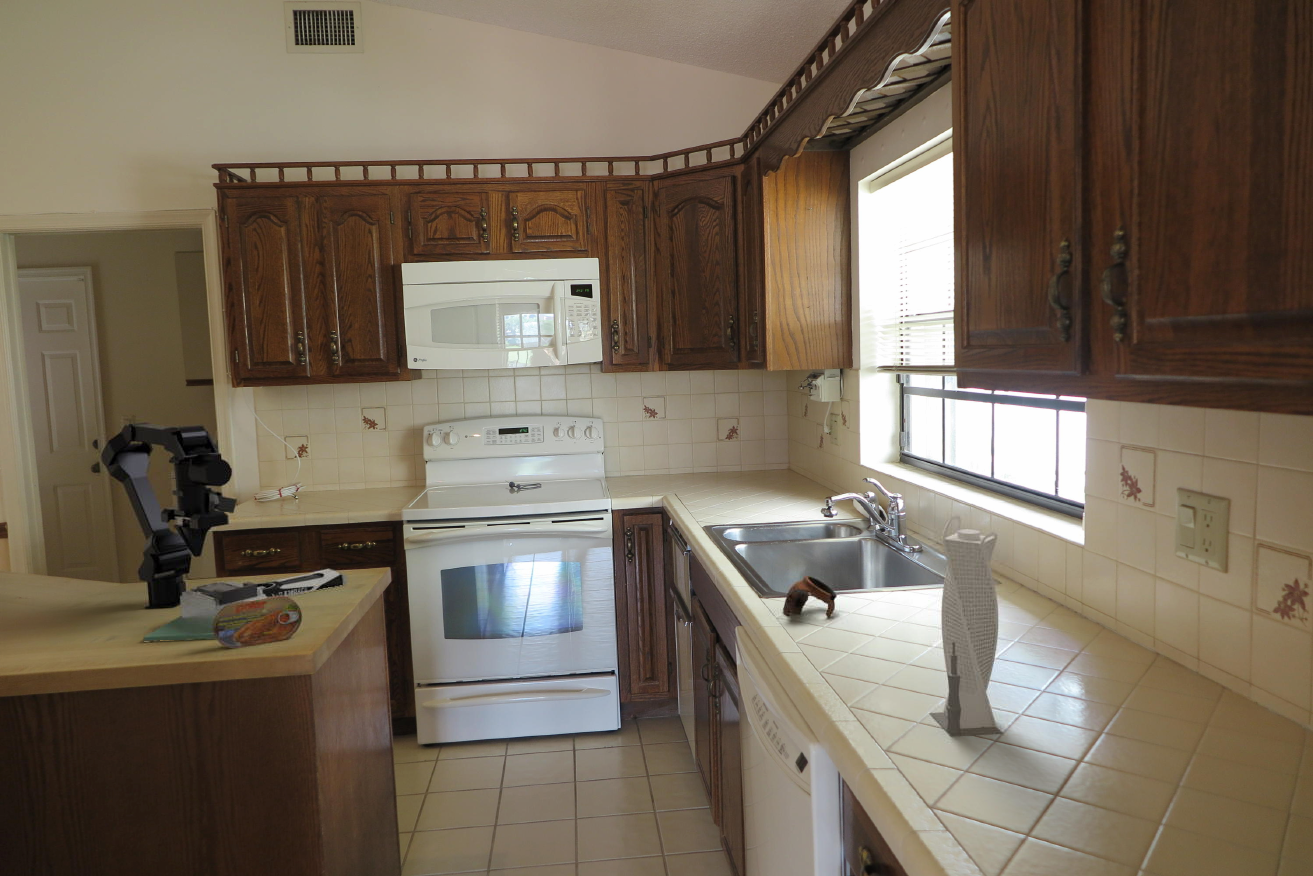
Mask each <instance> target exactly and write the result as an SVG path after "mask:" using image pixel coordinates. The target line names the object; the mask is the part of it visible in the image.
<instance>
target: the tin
mask: <svg viewBox="0 0 1313 876" xmlns="http://www.w3.org/2000/svg"><path fill="white" fill-rule="evenodd" d="M302 619H303V614H302V610H301V607H300V606H299V604H298V603H297V602H296V601H295V600H294V599H292V598H290V597H286V596H272V597H266V598H260V599H253V600H247V601H240V602H234V603H231V604H228V605H227V606H225V607H223V608H222V609H221V610H220V611H219V612H218V614H217V616H216V617H215V620H214V622H213V633H214V636H215V638H216V639H215V640H216V641H217V642H218V643H219V644H221V645H222V646H223V647H226V648H230V649H239V648H246V646H247V647H251V646H257V645H262V644H263V643H264V644H268V643H269V644H270V643H275V642H279V641H280V642H281V641H284V640H287V639H289V638H290V637H292V636H293V635H294V634H295V633H296V632H297V631H298V630H299V628H300V626H301V624H302Z"/></svg>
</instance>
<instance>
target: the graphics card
mask: <svg viewBox="0 0 1313 876" xmlns="http://www.w3.org/2000/svg"><path fill="white" fill-rule="evenodd" d="M347 575H348V574H343V573H341V572H338V571H336V570H334V569H331V568H326V569H321V570H316V571H312V572H311V573H306V574H301V575H297V576H291V577H287V578H285V577H284V578H283V579H282V578H281V579H277V580H272V581H271V580H270V581H267V582H259V583H256V584H257V588H258V589H262V593H263V594H265V595H266V597H272V596H290V595H294V594H299V595H301V594H300V593H304V592H309V591H313V590H319V589H323V588H328V587H333V588H336V587H335V586H337V587H341V586H340V585H342V586H343V585H344V586H347V585H348V579H347ZM346 584H347V585H346ZM328 589H329V588H328ZM323 590H324V589H323ZM319 591H320V590H319ZM309 593H310V592H309ZM304 594H305V593H304ZM290 597H291V596H290Z"/></svg>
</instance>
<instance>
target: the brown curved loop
mask: <svg viewBox="0 0 1313 876" xmlns="http://www.w3.org/2000/svg"><path fill="white" fill-rule="evenodd" d="M809 594H810V595H809ZM809 596H811V597H813V598H815V599H817V600H819V601H821V602H822V603H825V604H826V605H827V610H826V613H825V615H826V617H827V618H830V617H831V616H832V614H833V612H834V611H835V608H836V604H835V603H836V601H835V599H836V598H838V597H837V593H836V592H835V591H834V589H832V588H831V587H830V586H829V585H828V584H826V583H824V582H822V581H820V580H819V579H818V578H815V577H813V576H810V575H805V576H804V578H803V579H802V580H799V581H797V582H795V583H793V584H792V586H791V587H790V588H789V590H788V592H787V594H786V597H785V601H784V605H783V607H782V611H783V614H785V615H786V616H787V617H789V616H790V615H791V614H792V615H794V616H801V614H802V611H803V609H804V606H805V605H806V603H807V601H808V600H809ZM790 613H791V614H790Z"/></svg>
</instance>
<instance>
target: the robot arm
mask: <svg viewBox="0 0 1313 876" xmlns="http://www.w3.org/2000/svg"><path fill="white" fill-rule="evenodd" d="M153 445H157V446H162V447H163V449H164V450H165V451H166V452H169V453H171V454H173V456H172V457H170V458H169V459H168V464H173V468H174V481H175V489H172V495H173V496H176V502H177V506H172V507H166V508H164V509H163V510H162V508H161V505H160V502H159V501H158V499H157V496H156V493H155V491H154V489H153V486H152V485H151V484H152V483H151V482H150V479H149V477H148V470H149V467H150V465H151V462H150V456H151V454H152V452H153V450H154V448H153ZM100 457H101V462H102V464H103V465H104V466H105V468H106V470H107V471H108V474H109V475H110V476H111V477H113V478H114V479H115V480H116V481H118V482H120V483H121V484H122V485H123V487H124V490H125V492H126V494H127V497H128V499H129V502H130V504H131V507H132V509H133V511H134V513H135V517H136V518H137V520H138V523H139V526H140V528H141V530H142V533H143V535H144V537H145V539H146V540H145V544H144V548H143V551H142V555H143V558H144V559H143V560H142V562H141V564H140V566H139V568H138V570H137V575H138V577H139V578H138V579H139V581H141V582H146V584H147V585H146V586H147V599H148V604H146V605H144V608H145V609H155V608H175V607H177V606H179V605H181V602H180V596H182V595H183V594H182V592H185V591H186V592H187V583H186V580H184V575H188V574H190V569H191V563H192V555H193V557H195V558H198V557H201V556H202V553H203V548H204V545H205V541H206V540H205V539H206V537H207V534H208V532H209V531H210V530H211V529H212V528H215V527H221V526H227V525H229V524H230V521H229V520H230V519H229V515H228V514H227V513H229V514H234V513H235V508H236V505H237V500H238V499H237V498H232V497H227V496H223V493H222V491H220V492H219V491H216V490H213V489H212V488H211V487H223V486H225V485H226V484H228V482H230V480H231V479H232V475H233V470H232V468H231V465H230V464H229V462H228V461H227V460H225V459H223V458H222V453H221V452H220V453H219V450H218V446H217V445H216V444H215V442H214V441H213V439H212V437H211V436H210V434H209V432H208V431H207V430H206V428H205V426H204V425H202V424H193V425H180V426H178V425H177V426H166V425H159V424H152V423H148V422H135V423H127V424H125V425H124V426H123V427H122V429H121V431H120V432H118V434H116V435H114V436H113V437H112V438H110V440H108V441H107V443H106V444H105V447H104V448H103V450H102V452H101V455H100ZM209 486H210V487H209ZM174 520H176V524H174V525H173V528H174V529H175V530H176V532H174V531H172V530H171V528H170V526H169V524H168V523H170V522H171V521H174Z"/></svg>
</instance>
